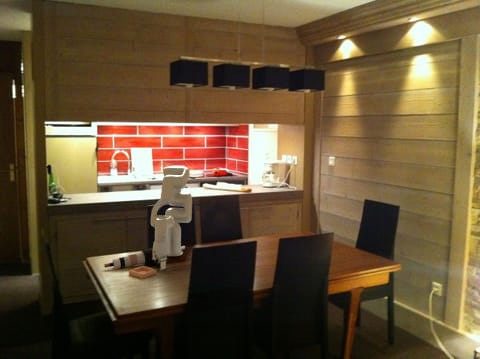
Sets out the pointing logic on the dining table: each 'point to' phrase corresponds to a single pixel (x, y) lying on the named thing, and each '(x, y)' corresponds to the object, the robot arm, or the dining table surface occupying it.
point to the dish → (142, 272)
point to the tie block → (162, 263)
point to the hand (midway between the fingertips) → (161, 267)
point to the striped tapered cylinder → (133, 260)
